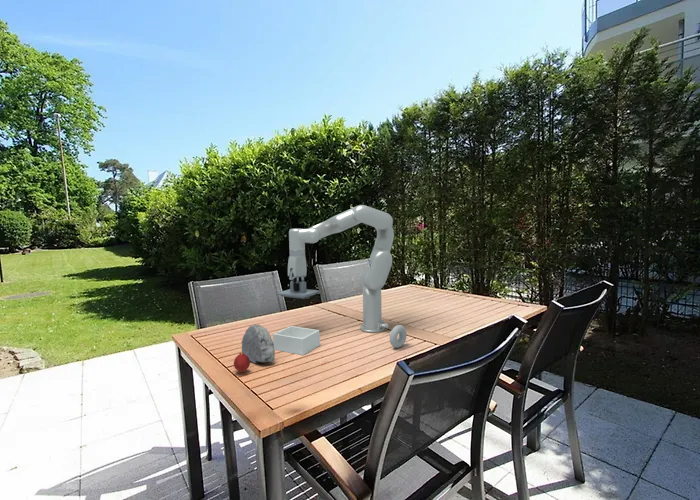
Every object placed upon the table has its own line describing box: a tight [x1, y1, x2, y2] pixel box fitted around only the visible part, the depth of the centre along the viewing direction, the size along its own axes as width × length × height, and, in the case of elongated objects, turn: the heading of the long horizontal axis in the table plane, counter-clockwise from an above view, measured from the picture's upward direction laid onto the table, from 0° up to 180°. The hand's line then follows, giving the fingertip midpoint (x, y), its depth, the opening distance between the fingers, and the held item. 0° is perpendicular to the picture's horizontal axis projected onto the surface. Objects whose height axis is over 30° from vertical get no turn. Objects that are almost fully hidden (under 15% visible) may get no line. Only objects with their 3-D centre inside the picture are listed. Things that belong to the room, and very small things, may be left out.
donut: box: [389, 324, 408, 349], centre depth 152 cm, size 10×4×10 cm, turn 133°
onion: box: [233, 351, 251, 374], centre depth 130 cm, size 6×6×8 cm
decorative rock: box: [241, 324, 276, 364], centre depth 140 cm, size 16×7×15 cm, turn 49°
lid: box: [275, 280, 321, 300], centre depth 172 cm, size 17×14×7 cm
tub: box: [272, 325, 321, 356], centre depth 155 cm, size 16×13×7 cm
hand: (298, 290), depth 172 cm, fingers closed on lid, 2 cm apart
